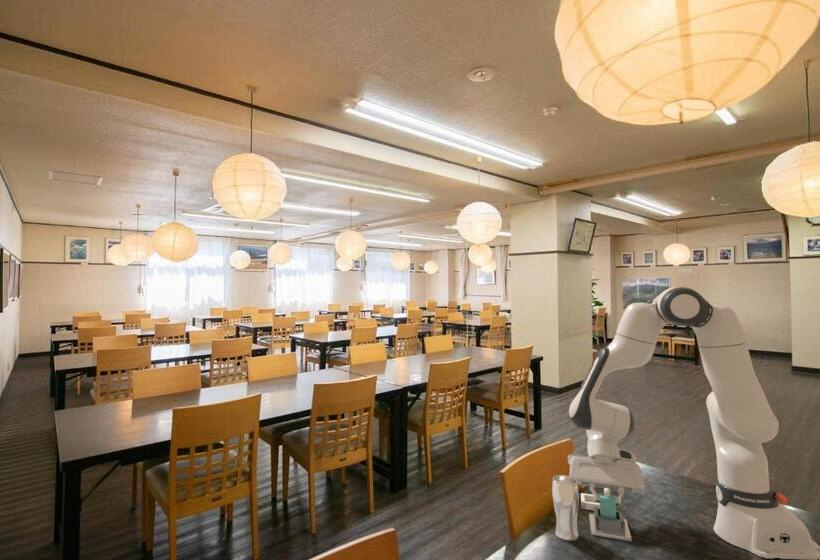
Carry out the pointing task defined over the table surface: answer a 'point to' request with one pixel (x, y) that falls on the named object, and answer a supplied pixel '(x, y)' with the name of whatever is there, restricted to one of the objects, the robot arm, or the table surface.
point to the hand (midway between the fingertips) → (607, 503)
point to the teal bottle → (607, 504)
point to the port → (609, 526)
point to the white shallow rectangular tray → (588, 502)
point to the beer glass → (566, 506)
